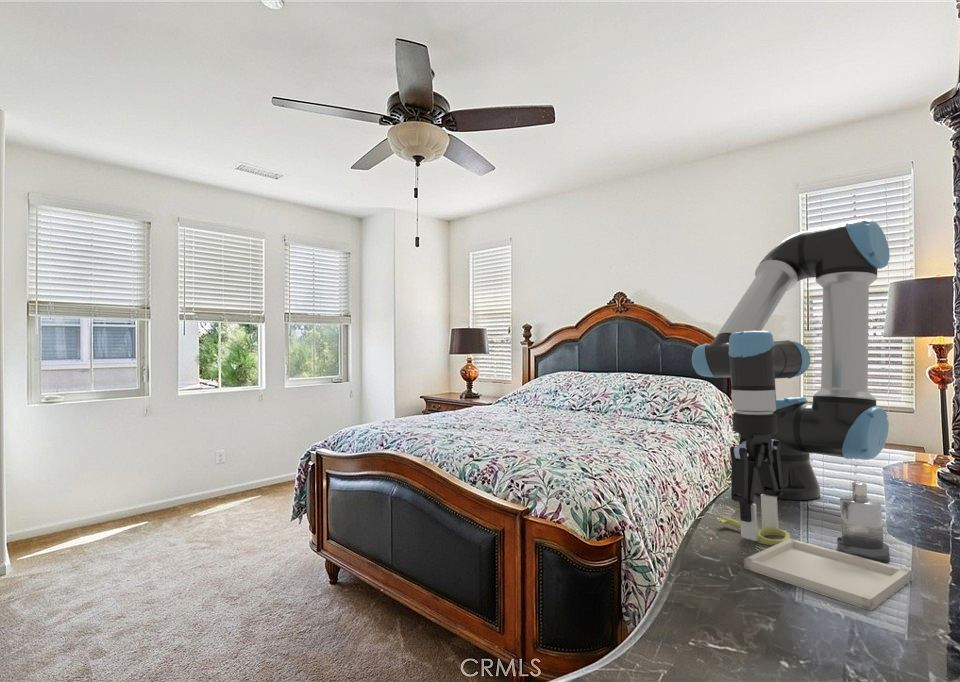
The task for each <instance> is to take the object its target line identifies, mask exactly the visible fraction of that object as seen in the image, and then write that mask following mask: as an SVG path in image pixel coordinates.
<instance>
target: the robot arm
mask: <svg viewBox="0 0 960 682" xmlns="http://www.w3.org/2000/svg"><path fill="white" fill-rule="evenodd" d="M889 261H890V247H889V243H888V239H887V237H886V234H885V233H884V231H883V229H882V228H881V226H880V224H878V222H876V221H875V220H873V219H869V218H862V219H855V220H847V221H846V222H841V223H837V224H832V225H827V226H823V227H819V228H818V227H817V228H814V229H813V228H812V229H810V230H809V229H808V230H804V231H800V232H797V233H795V234H792V235H791V236H789V237H786V239H784V240H782V241H781V242H780V243H779V244H777V245H775V246H774V247H773V248H772V250H770V251H769V252H768V253H767V254H766V255H765V256H764V257H763V259H762V260H761V261H760V263H759V264H758V266H756V269H755V271H754V277H755V278H754V279H753V280H752V282H751V283H750V285H749V286H748V288H747V289H746V291H745V293H744V294H743V295H742V297H741V298H740V300H739V302H737V305H736V306H735V307H734V309H733V311H732V312H731V313H730V315H729V316H728V318H727V319H726V320H725V322H724V324H723V325H722V327H721V328H720V330H719V331H718V333H717V334H716V336H715V337H714V339H713V340H712V342H711V343H707V342H706V343H704V344H700V345H698V346H696V347H695V348H694V350H693V352H692V355H691V365H692V367H693V369H694V371H695V373H696V374H697V375H699V376H701V377H707V378H715V379H716V378H717V379H718V378H730V382H731V383H730V384H731V385H730V389H731V393H730V398H731V408H732V410H733V411H735V412H733V413H732V415H731V416H732V417H731V419H732V430H733V431H734V432H735V433H737V434H739V441H738V446H732V445H731V446H730V448H729V453H730V457H731V483H730V484H731V485H730V487H731V488H730V489H731V491H730V492H731V493H730V496H731V497H730V498H731V500H732V501H733V502H737V503H738V504H739V517H740V518H739V519H740V521H739V522H741V529H740V533H741V534H740V536H741V538H744V539H748V540H752V541H755V542H756V541H757V540H758V530H757V526H758V515H757V514H758V512H757V503H754V499H755V494H756V495H759V496H760V511H761V529H764V528H777V529H780V528H779V512H778V511H779V510H778V509H779V508H778V499H781V500H790V501H792V500H793V501H805V500H814V499H818V498H820V497H821V487H820V486H821V485H820V483H819V481H818V479H817V475H816V474H815V472H814V470H813V467H812V464H811V459H810V454H814V455H815V454H816V455H821V456H822V455H823V456H828V457H837V458H842V459H846V460H853V459H854V460H862V461H863V460H864V461H867V460H872V459H874V458H876V457H877V456H879V455H880V454H881V451H882V450H883V449H884V447H885V444H886V442H887V439H888V433H889V428H890V427H889V425H890V424H889V423H890V422H889V419H888V413H887V412H886V410H885V409H884V408H883V407H880V406H878V405H877V398H876V397H875V396H874V395H873V394H871V393H870V392H869V383H868V380H869V311H870V310H869V309H870V307H869V301H870V300H869V299H870V296H869V295H870V294H869V293H870V291H869V290H870V289H869V288H870V285H871V284H873V283H874V282H875V281H877V279H878V270H881V269H883V268H885V267H887V266H888V265H889ZM810 278H815V283H816V284H818V285H819V286H820V287H822V322H821V324H822V325H821V327H822V328H821V366H820V367H821V369H820V370H821V372H820V373H821V374H820V380H821V381H820V388H819V390H817V391H816V392H815V393H814V394H813V395H812V403H809V401H808V399H807V398H806V397H805V396H794V397H793V396H792V397H791V396H790V397H780V398H777V392H776V391H777V390H776V379H792V378H795V377H799V376H801V375H803V374H804V373H806V372H807V371H808V369H809V368H810V365H811V355H810V351H809V350H808V349H807V347H805V346H804V345H803V344H802V343H800V342H797V341H791V340H789V339H787V340H774V337H773V336H774V335H773V334H772V333H771V331H769V330H763V329H764V327H765V326H766V324H767V323H768V320H770V318H771V316H772V314H773V313H774V312H775V310H776V308H777V307H778V306H779V303H780V302H781V300H782V299H783V297H784V295H785V294H786V292H787V291H790V290H792V289H793V288H794V287H795V286H796V285H797V284H798V282H799V281H802V280H805V279H810ZM757 542H758V541H757Z"/></svg>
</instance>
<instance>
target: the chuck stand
mask: <svg viewBox="0 0 960 682" xmlns="http://www.w3.org/2000/svg"><path fill="white" fill-rule="evenodd" d="M851 491H852V496H842V497H840V498H839V506H840V507H839V508H840V526H841V529H840V530H841V536H839V537H837V538H836V541H837V542H836V543H837V551H839V552H843V553H847V554H851V555H854V556H858V557H862V558H866V559H869V560H873V561H877V562H881V563H885V564H887V563H888V564H889V562H890V561H891V556H890V546H889V545H888V544H887V543H884V530H883V529H884V528H883V512H882V511H883V510H882V503H881V502H880V501H879V500H875V499H871V498H868V484H867V483H865V482H859V481H853V482H851Z"/></svg>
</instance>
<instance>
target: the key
mask: <svg viewBox="0 0 960 682" xmlns="http://www.w3.org/2000/svg"><path fill="white" fill-rule="evenodd" d="M717 522H718V524H719V523H720V524H721V525H726V524H727V525H729V526H732V527H735V528H738V529H740V530H741V521H739V520H737V519H733V518H730V517H727V516H722V518H720V519H718V521H717ZM757 530H758V540H757V542H758V543H760V544H761V545H765V544H766V545H767V546H774V545H776V544H779V543H781V542H783V541H785V540H787V539H792V538H791V535H790V533H789V532H788V531H786V530H784V529H781V528H779V529H777V528H764V529H763V528H759V525H757ZM767 536H780V537H783V538H781V539H780V538H779V539H772V538H768V537H767Z"/></svg>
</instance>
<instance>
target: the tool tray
mask: <svg viewBox="0 0 960 682" xmlns="http://www.w3.org/2000/svg"><path fill="white" fill-rule="evenodd" d="M743 566H744V567H743V568H744V569H745V570H747V571H751V572H754V573H756V574H759V575H763V576H766V577H769V578H772V579H775V580H777V581H781V582H783V583H785V584H790V585H793V586H796V587H798V588H800V589H805V590H808V591H810V592H813V593H817V594H820V595H823V596H826V597H828V598H832V599H835V600H837V601H840V602H843V603H846V604H849V605H853V606H855V607H858V608H861V609H865V610H867V611H870V612H872V611H873V610H874V609H875V608H877V607H879V605H881V604H883V603H884V602H885V601H886V600H888V599H889V598H891V597H892V596H893V595H894V594H896V593H897V592H898V590H899V589H900V590H902V589H903V588H904V587H905V586H907V585H908V584H909V583H911V582H910V581H911V580H912V570H910V569H906V568H903V567H899V566H895V565H891V564H889V563H888V564H887V563H881V562H877V561H873V560H869V559H866V558H862V557H858V556H854V555H851V554H847V553H843V552H839V551H838V550H835V549H832V548H827V547H823V546H820V545H816V544H812V543H808V542H805V541H801V540H797V539H793V538H791V539H787V540H785V541H783V542H781V543H779V544H776V545H771V546H770V547H768V548H765V549H763V550H762V551H759V552H756V553H754V554H751V555H749V556H748V557H745V558H744V559H743ZM912 581H913V580H912ZM908 582H909V583H908ZM907 583H908V584H907ZM906 584H907V585H906ZM903 586H904V587H903ZM902 587H903V588H902ZM900 590H899V591H900ZM895 592H896V593H895ZM892 594H893V595H892ZM891 595H892V596H891ZM887 598H888V599H887Z"/></svg>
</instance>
